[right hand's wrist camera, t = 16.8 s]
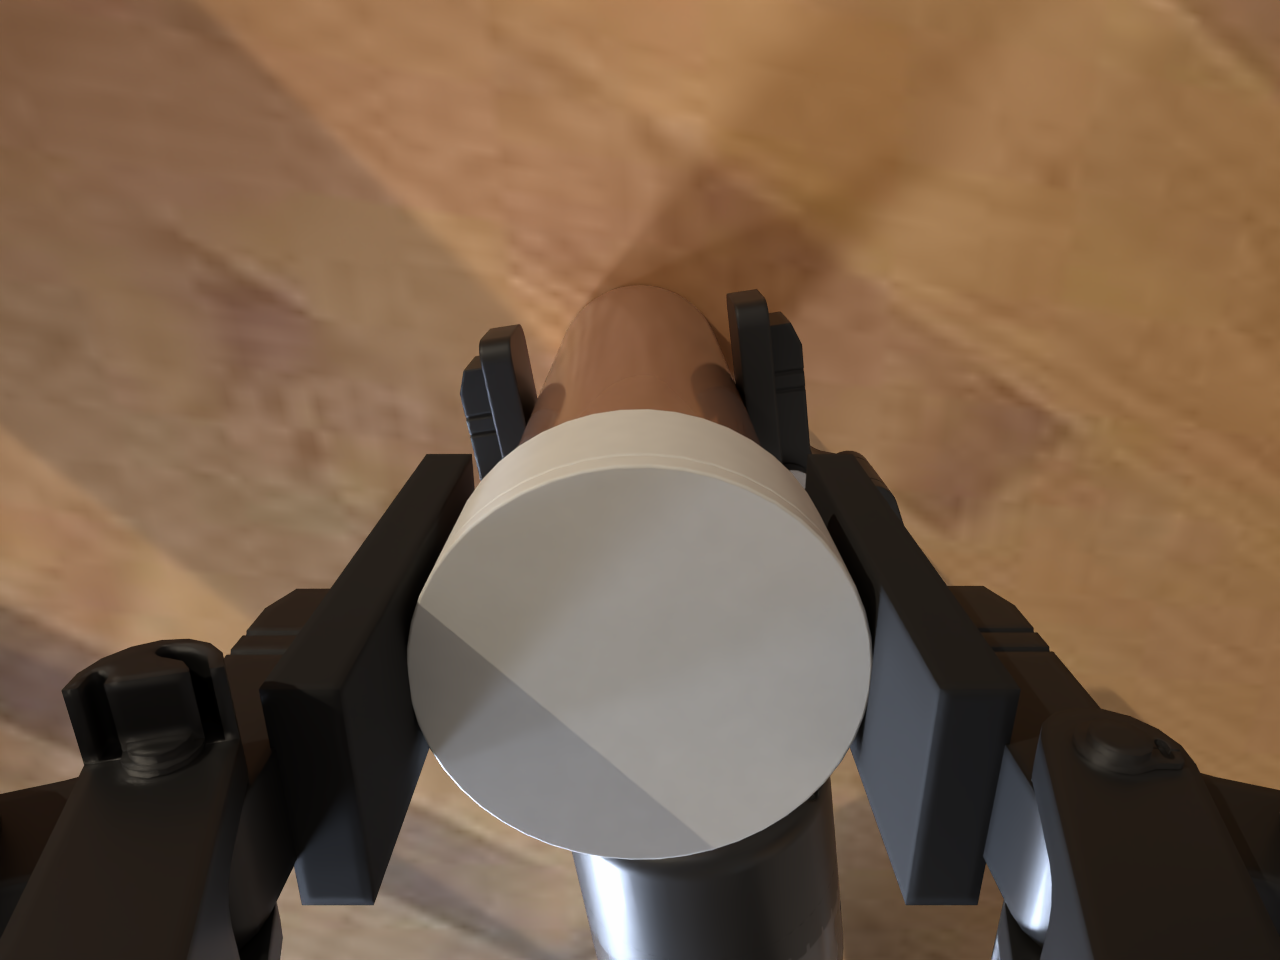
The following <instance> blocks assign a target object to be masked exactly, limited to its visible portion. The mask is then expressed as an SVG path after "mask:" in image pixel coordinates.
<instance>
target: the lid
mask: <svg viewBox="0 0 1280 960" xmlns="http://www.w3.org/2000/svg"><path fill="white" fill-rule="evenodd" d="M872 661H873V653H872V637H871V633H870V628H869V624H868V619H867V615H866V611H865V608H864V606H863V603H862V601H861V598H860V596H859V593H858V590H857V588H856V585H855V583H854V581H853V580H852V578H851V576H850V574H849V572H848V570H847V568H846V566H845V564H844V562H843V560H842V558H841V556H840V554H839V552H838V550H837V548H836V546H835V544H834V542H833V540H832V538H831V536H830V534H829V532H828V530H827V528H826V526H825V524H824V522H823V520H822V518H821V516H820V514H819V512H818V510H817V509H816V507H815V505H814V504H813V502H812V500H811V498H810V497H809V495H808V493H807V492H806V491H805V489H804V488H803V487H802V485H801V484H800V483H799V482H798V480H797V479H796V478H795V477H794V475H793V474H792V473H791V472H790V471H789V470H788V469H787V468H786V467H785V466H784V465H783V464H782V463H780V462H779V461H778V460H777V459H776V458H775V457H774V456H773V455H772V454H770V453H769V452H767V451H766V450H765V449H763V448H762V447H761V446H759V445H758V444H756V443H755V442H754V441H752V440H750V439H748V438H747V437H745V436H743V435H741V434H739V433H737V432H735V431H733V430H731V429H730V428H727V427H725V426H722V425H719V424H717V423H714V422H711V421H709V420H706V419H703V418H699V417H695V416H691V415H686V414H682V413H678V412H670V411H661V410H651V409H638V410H617V411H610V412H603V413H597V414H592V415H588V416H585V417H581V418H578V419H574V420H571V421H567V422H565V423H562V424H560V425H558V426H555V427H553V428H551V429H548V430H546V431H544V432H541V433H540V434H538V435H536V436H535V437H533V438H531V439H530V440H528V441H526V442H525V443H523V444H521V445H520V446H518V447H517V448H516V449H515V450H513V451H512V452H511V453H510V454H508V455H507V456H506V457H505V458H503V459H502V460H501V461H500V462H498V463H497V465H496V466H495V467H494V468H493V469H492V470H491V471H490V472H489V473H488V474H487V475H486V476H485V477H484V478H483V479H482V480H481V482H480V483H479V485H478V486H477V487H476V489H475V490H474V492H473V493H472V495H471V496H470V497H469V499H468V500H467V502H466V504H465V506H464V508H463V510H462V512H461V514H460V516H459V518H458V520H457V522H456V524H455V526H454V528H453V530H452V532H451V534H450V536H449V538H448V540H447V542H446V544H445V546H444V548H443V550H442V552H441V554H440V556H439V558H438V560H437V561H436V563H435V565H434V567H433V569H432V571H431V573H430V575H429V577H428V579H427V581H426V583H425V585H424V587H423V589H422V591H421V593H420V595H419V598H418V601H417V604H416V607H415V611H414V614H413V617H412V620H411V624H410V631H409V637H408V643H407V666H408V676H409V684H410V692H411V700H412V705H413V708H414V712H415V715H416V718H417V721H418V725H419V727H420V729H421V731H422V733H423V735H424V737H425V739H426V741H427V743H428V746H429V748H430V749H431V751H432V752H433V754H434V755H435V757H436V758H437V760H438V761H439V763H440V764H441V766H442V767H443V769H444V770H445V771H446V772H447V774H448V775H449V776H450V777H451V778H452V779H453V780H454V782H455V783H456V784H457V785H458V786H459V787H460V789H461V790H463V791H464V792H465V793H466V794H467V795H468V796H469V797H470V798H472V799H473V800H474V801H475V802H476V803H477V804H478V805H479V806H481V807H482V808H483V809H485V810H486V811H488V812H489V813H490V814H492V815H493V816H495V817H496V818H498V819H499V820H500V821H502V822H504V823H506V824H507V825H509V826H511V827H513V828H515V829H517V830H518V831H520V832H522V833H524V834H526V835H528V836H531V837H533V838H536V839H538V840H540V841H543V842H545V843H548V844H550V845H553V846H557V847H560V848H564V849H567V850H570V851H574V852H578V853H583V854H588V855H594V856H599V857H606V858H618V859H631V860H633V859H663V858H671V857H680V856H687V855H692V854H696V853H700V852H705V851H709V850H713V849H716V848H719V847H722V846H725V845H728V844H731V843H734V842H737V841H740V840H742V839H744V838H746V837H748V836H751V835H753V834H755V833H757V832H759V831H762V830H764V829H765V828H767V827H769V826H770V825H772V824H774V823H775V822H777V821H779V820H780V819H782V818H784V817H785V816H787V815H788V814H789V813H791V812H792V811H793V810H794V809H796V808H797V807H798V806H800V805H801V804H802V803H804V802H805V801H806V800H807V799H808V798H809V797H810V796H811V795H812V794H813V793H814V792H815V791H816V790H817V789H818V788H819V787H821V786H822V785H823V784H824V783H825V782H826V780H827V779H828V778H829V776H830V775H831V774H832V773H833V771H834V770H835V769H836V768H837V766H838V765H839V764H840V762H841V761H842V760H843V758H844V756H845V754H846V753H847V751H848V749H849V748H850V746H851V744H852V743H853V741H854V739H855V737H856V734H857V732H858V729H859V727H860V725H861V722H862V720H863V717H864V714H865V710H866V706H867V702H868V695H869V688H870V679H871V670H872Z"/></svg>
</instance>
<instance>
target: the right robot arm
mask: <svg viewBox="0 0 1280 960" xmlns="http://www.w3.org/2000/svg"><path fill="white" fill-rule="evenodd" d="M474 490H475V489H474V477H473V464H472V454H426V456H425V457H424V458H423V460H422V461H421V463H420V464H419V465H418V467H417V468H416V470H415V471H414V472H413V474H412V475H411V477H410V478H409V479H408V481H407V482H406V484H405V485H404V486H403V488H402V489H401V491H400V492H399V493H398V495H397V496H396V498H395V499H394V500H393V502H392V503H391V505H390V506H389V507H388V509H387V510H386V512H385V513H384V514H383V516H382V517H381V519H380V520H379V521H378V523H377V524H376V526H375V527H374V528H373V530H372V531H371V533H370V534H369V535H368V537H367V538H366V540H365V541H364V542H363V544H362V545H361V547H360V548H359V549H358V551H357V552H356V554H355V555H354V556H353V558H352V559H351V561H350V562H349V563H348V565H347V566H346V568H345V569H344V570H343V572H342V573H341V575H340V576H339V577H338V579H337V580H336V582H335V583H334V584H333V586H332V587H331V589H296V590H294V591H292V592H291V593H289V594H287V595H286V596H284V597H283V598H281V599H279V600H278V601H276V602H275V603H273V604H271V605H270V606H268V607H267V608H265V609H264V610H263V612H262V613H261V614H260V615H259V616H258V618H257V619H256V620H255V621H254V623H253V624H252V625H251V626H250V627H249V629H248V630H247V634H246V635H243V636H242V637H241V638H240V639H239V641H238V642H237V643H236V644H235V645H234V647H233V648H232V649H231V654H230V655H226V656H225V658H224V657H223V653H222V652H221V651H220V650H218V649H217V648H216V647H215V646H213V645H212V644H211V643H207V642H202V641H197V640H192V639H174V640H160V641H155V642H151V643H146V644H142V645H137V646H133V647H130V648H127V649H125V650H122V651H120V652H117V653H114V654H112V655H109V656H107V657H104V658H102V659H100V660H99V661H97V662H95V663H94V664H92V665H90V666H89V667H87V668H86V669H84V670H82V671H81V672H79V673H77V674H76V676H75V677H74V678H73V679H72V680H71V681H70V682H69V683H68V684H67V685H66V686H65V687H64V688H63V689H62V694H63V697H64V700H65V704H66V707H67V710H68V713H69V717H70V720H71V723H72V726H73V730H74V733H75V736H76V739H77V743H78V746H79V749H80V753H81V756H82V759H83V762H84V767H83V769H82V771H81V773H80V775H79V777H77V778H73V779H69V780H66V781H61V782H56V783H51V784H47V785H42V786H37V787H32V788H27V789H23V790H18V791H13V792H8V793H3V794H0V960H280V956H281V948H282V940H283V935H282V928H281V921H280V916H279V911H278V906H277V902H276V901H277V899H278V897H279V895H280V893H281V891H282V889H283V887H284V885H285V883H286V881H287V879H288V877H289V875H290V873H291V871H292V869H293V867H294V868H295V873H296V878H297V882H298V887H299V892H300V897H301V902H302V905H374V902H375V900H376V897H377V894H378V891H379V888H380V886H381V883H382V880H383V877H384V874H385V871H386V869H387V866H388V863H389V860H390V857H391V855H392V852H393V849H394V846H395V843H396V841H397V838H398V835H399V832H400V829H401V826H402V824H403V821H404V818H405V815H406V812H407V810H408V807H409V804H410V801H411V798H412V795H413V793H414V790H415V787H416V784H417V781H418V779H419V776H420V773H421V770H422V767H423V764H424V762H425V759H426V756H427V753H428V750H429V746H428V743H427V741H426V739H425V737H424V735H423V733H422V731H421V729H420V727H419V725H418V721H417V718H416V715H415V712H414V708H413V705H412V700H411V692H410V684H409V676H408V666H407V643H408V637H409V631H410V624H411V620H412V617H413V614H414V611H415V607H416V604H417V601H418V598H419V595H420V593H421V591H422V589H423V587H424V585H425V583H426V581H427V579H428V577H429V575H430V573H431V571H432V569H433V567H434V565H435V563H436V561H437V560H438V558H439V556H440V554H441V552H442V550H443V548H444V546H445V544H446V542H447V540H448V538H449V536H450V534H451V532H452V530H453V528H454V526H455V524H456V522H457V520H458V518H459V516H460V514H461V512H462V510H463V508H464V506H465V504H466V502H467V500H468V499H469V497H470V496H471V495H472V493H473V492H474ZM805 491H806V492H807V493H808V495H809V497H810V498H811V500H812V502H813V504H814V505H815V507H816V509H817V510H818V512H819V514H820V516H821V518H822V520H823V522H824V524H825V526H826V528H827V530H828V532H829V534H830V536H831V538H832V540H833V542H834V544H835V546H836V548H837V550H838V552H839V554H840V556H841V558H842V560H843V562H844V564H845V566H846V568H847V570H848V572H849V574H850V576H851V578H852V580H853V581H854V583H855V585H856V588H857V590H858V593H859V596H860V598H861V601H862V603H863V606H864V608H865V611H866V615H867V619H868V624H869V628H870V633H871V637H872V653H873V661H872V670H871V679H870V688H869V695H868V702H867V706H866V710H865V714H864V717H863V720H862V722H861V725H860V727H859V729H858V732H857V734H856V737H855V739H854V741H853V743H852V744H851V746H850V749H851V752H852V755H853V757H854V760H855V763H856V766H857V769H858V771H859V774H860V777H861V780H862V783H863V786H864V788H865V791H866V794H867V797H868V800H869V802H870V805H871V808H872V811H873V814H874V817H875V819H876V822H877V825H878V828H879V831H880V833H881V836H882V839H883V842H884V845H885V848H886V850H887V853H888V856H889V859H890V862H891V864H892V867H893V870H894V873H895V876H896V879H897V881H898V884H899V887H900V890H901V893H902V895H903V898H904V901H905V904H906V905H978V900H979V895H980V890H981V885H982V880H983V875H984V870H985V865H986V863H987V865H988V867H989V869H990V872H991V874H992V876H993V878H994V880H995V882H996V884H997V886H998V888H999V890H1000V892H1001V894H1002V896H1003V898H1004V902H1003V906H1002V911H1001V916H1000V920H999V925H998V930H997V934H996V939H995V943H994V948H993V953H992V957H991V960H1280V790H1276V789H1271V788H1266V787H1261V786H1256V785H1251V784H1247V783H1242V782H1237V781H1232V780H1227V779H1222V778H1218V777H1213V776H1210V775H1206V774H1202V773H1200V772H1199V770H1198V768H1197V765H1196V764H1195V762H1194V761H1193V760H1192V759H1191V757H1190V756H1189V755H1188V754H1187V752H1186V751H1185V750H1184V748H1183V747H1182V746H1181V745H1180V744H1178V743H1177V742H1175V741H1174V740H1173V739H1171V738H1170V737H1169V736H1167V735H1166V734H1164V733H1163V732H1162V731H1160V730H1159V729H1157V728H1155V727H1153V726H1150V725H1148V724H1146V723H1144V722H1142V721H1139V720H1137V719H1135V718H1133V717H1131V716H1127V715H1123V714H1119V713H1115V712H1111V711H1107V710H1104V709H1101V708H1100V707H1099V706H1098V705H1097V704H1096V702H1095V701H1094V700H1093V699H1092V698H1091V696H1090V695H1089V694H1088V693H1087V692H1086V690H1085V689H1084V688H1083V687H1082V686H1081V684H1080V683H1079V682H1078V681H1077V680H1076V678H1075V677H1074V676H1073V675H1072V674H1071V672H1070V671H1069V670H1068V669H1067V668H1066V666H1065V665H1064V664H1063V663H1062V662H1061V660H1060V659H1059V658H1058V657H1057V656H1056V654H1055V653H1054V652H1050V651H1049V646H1048V645H1047V644H1046V642H1045V641H1044V640H1043V639H1042V638H1041V636H1040V635H1039V634H1038V633H1034V631H1033V627H1032V626H1031V624H1030V623H1029V622H1028V621H1027V620H1026V618H1025V617H1024V616H1023V615H1022V614H1021V612H1020V611H1019V610H1018V609H1017V608H1016V606H1015V605H1013V604H1012V603H1010V602H1008V601H1007V600H1005V599H1003V598H1002V597H1000V596H999V595H997V594H995V593H994V592H992V591H990V590H989V589H987V588H986V587H984V586H947V585H946V584H945V582H944V581H943V580H942V578H941V577H940V575H939V574H938V573H937V571H936V570H935V568H934V567H933V566H932V564H931V563H930V561H929V560H928V559H927V557H926V556H925V554H924V553H923V552H922V550H921V549H920V547H919V546H918V545H917V543H916V542H915V540H914V539H913V538H912V536H911V535H910V533H909V532H908V531H907V529H906V528H905V526H904V525H903V524H902V522H901V521H900V519H899V518H898V517H897V515H896V514H895V512H894V511H893V510H892V508H891V507H890V505H889V504H888V503H887V501H886V500H885V498H884V497H883V496H882V494H881V493H880V491H879V490H878V489H877V487H876V486H875V484H874V483H873V482H872V480H871V479H870V477H869V476H868V475H867V473H866V472H865V470H864V469H863V468H862V466H861V465H860V463H859V462H858V461H857V459H856V458H855V456H854V455H853V454H808V458H807V470H806V483H805Z"/></svg>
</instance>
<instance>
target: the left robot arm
mask: <svg viewBox="0 0 1280 960" xmlns="http://www.w3.org/2000/svg"><path fill="white" fill-rule="evenodd" d="M727 310H728V319H729V328H730V337H731V346H732V356H733V365H734V374H735V383H736V386H737V389H738V391H739V394H740V396H741V398H742V401H743V403H744V405H745V408H746V410H747V413H748V415H749V417H750V420H751V422H752V424H753V427H754V429H755V432H756V434H757V436H758V439H759V441H760V443H761V446H762V448H763V449H765V450H766V451H767V452H769V453H770V454H772V455H773V456H774V457H775V458H776V459H777V460H778V461H779V462H780V463H782V464H783V465H784V466H785V467H786V468H787V469H788V470H789V471H790V472H791V473H792V474H793V475H794V477H795V478H796V479H797V480H798V482H799V483H800V484H801V485H802V487H803V488H804V489H805V483H806V470H807V458H808V454H835V453H830V452H825V451H820V450H817V449H815V448H813V447H811V446H810V442H809V430H808V417H807V404H806V391H805V378H804V370H803V368H804V366H803V353H802V344H801V342H800V340H799V338H798V336H797V334H796V332H795V330H794V328H793V326H792V324H791V323H790V322H789V320H788V319H787V318H786V317H785V316H784V315H783V314H782V313H781V312H774V313H768V308H767V303H766V300H765V298H764V297H763V296H762V294H761V293H760V292H759V291H758V290H757V289H755V290H748V291H742V292H735V293H728V294H727ZM479 354H480V356H475V358H474V359H473V360H472V361H471V362H470V364H469V365H468V366H467V367H466V368H465V370H464V372H463V378H462V384H461V391H460V396H461V400H462V404H463V408H464V413H465V416H466V419H467V420H466V421H467V425H468V429H469V433H470V436H471V437H470V438H471V442H472V446H473V450H474V455H475V459H476V463H477V467H478V471H479V476H480V480H482V479H483V478H484V477H485V476H486V475H487V474H488V473H489V472H490V471H491V470H492V469H493V468H494V467H495V466H496V465H497V463H498V462H500V461H501V460H502V459H503V458H505V457H506V456H507V455H508V454H510V453H511V452H512V451H513V450H515V449H516V448H517V447H518V445H519V443H520V440H521V438H522V436H523V433H524V431H525V428H526V426H527V424H528V421H529V419H530V417H531V414H532V412H533V409H534V407H535V405H536V402H537V400H538V399H537V394H536V389H535V384H534V380H533V375H532V370H531V365H530V360H529V355H528V350H527V345H526V340H525V336H524V332H523V329H522V327H521V325H520V324H518V325H511V326H505V327H498V328H492V329H490V330H489V331H488V332H487V333H486V334H485V335H484V336H483V338H482V339H481V340H480V343H479ZM837 454H853V455H854V456H855V458H856V459H857V461H858V462H859V463H860V465H861V466H862V468H863V469H864V470H865V472H866V473H867V475H868V476H869V477H870V479H871V480H872V482H873V483H874V484H875V486H876V487H877V489H878V490H879V491H880V493H881V494H882V496H883V497H884V498H885V500H886V501H887V503H888V504H889V505H890V507H891V508H892V510H893V511H894V512H895V514H896V515H897V517H898V518H899V519H900V521H901V522H902V524H903V521H902V518H901V515H900V512H899V508H898V505H897V502H896V500H895V497H894V496H893V494H892V493H891V492H890V490H889V489H888V488H887V486H886V485H885V484H884V482H883V481H882V480H881V478H880V477H879V476H878V474H877V473H876V472H875V470H874V469H873V468H872V466H871V465H870V464H869V462H868V461H867V460H866V458H865V457H864V456H863V455H861V454H860V453H857V452H854V451H843V452H839V453H837ZM903 525H904V524H903ZM572 854H573V858H574V862H575V866H576V871H577V875H578V879H579V883H580V887H581V891H582V896H583V900H584V904H585V908H586V912H587V917H588V921H589V926H590V930H591V934H592V939H593V943H594V947H595V951H596V955H597V960H843V928H842V915H841V902H840V890H839V877H838V866H837V854H836V841H835V829H834V817H833V805H832V792H831V780H830V776H829V778H828V779H827V780H826V782H825V783H824V784H823V785H822V786H821V787H819V788H818V789H817V790H816V791H815V792H814V793H813V794H812V795H811V796H810V797H809V798H808V799H807V800H806V801H805V802H804V803H802V804H801V805H800V806H798V807H797V808H796V809H794V810H793V811H792V812H791V813H789V814H788V815H787V816H785V817H784V818H782V819H780V820H779V821H777V822H775V823H774V824H772V825H770V826H769V827H767V828H765V829H764V830H762V831H759V832H757V833H755V834H753V835H751V836H748V837H746V838H744V839H742V840H740V841H737V842H734V843H731V844H728V845H725V846H722V847H719V848H716V849H713V850H709V851H705V852H700V853H696V854H692V855H687V856H680V857H671V858H663V859H633V860H631V859H618V858H606V857H599V856H594V855H588V854H583V853H578V852H574V851H572Z"/></svg>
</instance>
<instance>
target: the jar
mask: <svg viewBox="0 0 1280 960" xmlns="http://www.w3.org/2000/svg"><path fill="white" fill-rule="evenodd" d="M638 409H651V410H661V411H670V412H678V413H682V414H686V415H691V416H695V417H699V418H703V419H706V420H709V421H711V422H714V423H717V424H719V425H722V426H725V427H727V428H730V429H731V430H733V431H735V432H737V433H739V434H741V435H743V436H745V437H747V438H748V439H750V440H752V441H754V442H755V443H756V444H758V445H759V446H761V443H760V441H759V439H758V436H757V434H756V432H755V429H754V427H753V424H752V422H751V420H750V417H749V415H748V413H747V410H746V408H745V405H744V403H743V401H742V398H741V396H740V394H739V391H738V389H737V386H736V384H735V382H734V379H733V377H732V375H731V372H730V370H729V367H728V365H727V363H726V360H725V358H724V356H723V353H722V351H721V348H720V346H719V344H718V341H717V339H716V337H715V334H714V332H713V330H712V328H711V326H710V324H709V323H708V321H707V320H706V319H705V317H704V316H703V314H702V313H701V312H700V311H699V310H698V309H697V308H696V307H695V306H694V305H693V304H691V303H690V302H689V301H688V300H686V299H685V298H683V297H681V296H680V295H678V294H676V293H674V292H671V291H669V290H666V289H663V288H659V287H655V286H648V285H632V286H624V287H620V288H616V289H613V290H611V291H608V292H606V293H603V294H602V295H600V296H598V297H596V298H595V299H593V300H592V301H591V302H589V303H588V304H587V305H586V306H585V307H584V308H583V309H582V310H581V311H580V312H579V313H578V314H577V315H576V317H575V318H574V319H573V320H572V322H571V324H570V326H569V327H568V329H567V331H566V333H565V336H564V338H563V340H562V343H561V345H560V348H559V350H558V352H557V355H556V357H555V359H554V362H553V364H552V367H551V369H550V371H549V374H548V376H547V378H546V381H545V383H544V386H543V388H542V390H541V393H540V395H539V397H538V400H537V402H536V405H535V407H534V409H533V412H532V414H531V417H530V419H529V421H528V424H527V426H526V428H525V431H524V433H523V436H522V438H521V440H520V443H519V445H518V446H520V445H521V444H523V443H525V442H526V441H528V440H530V439H531V438H533V437H535V436H536V435H538V434H540V433H541V432H544V431H546V430H548V429H551V428H553V427H555V426H558V425H560V424H562V423H565V422H567V421H571V420H574V419H578V418H581V417H585V416H588V415H592V414H597V413H603V412H610V411H617V410H638ZM761 447H762V446H761Z"/></svg>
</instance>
